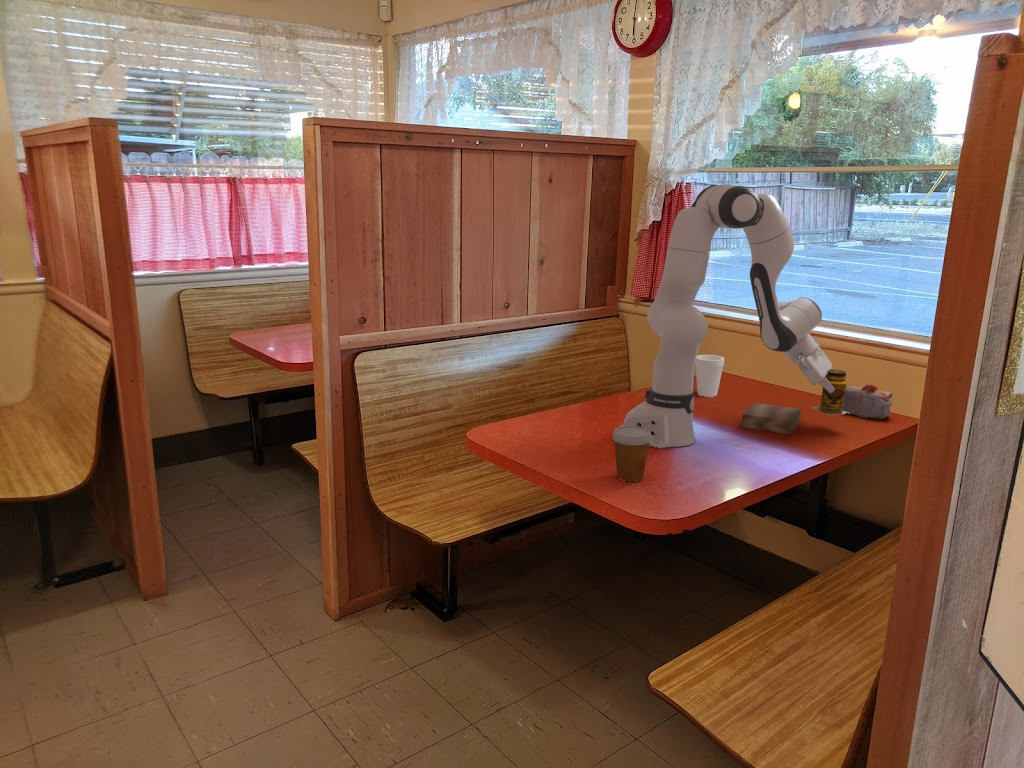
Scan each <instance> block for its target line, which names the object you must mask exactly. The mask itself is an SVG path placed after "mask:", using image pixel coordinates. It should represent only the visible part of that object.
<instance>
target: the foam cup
mask: <svg viewBox="0 0 1024 768" xmlns="http://www.w3.org/2000/svg"><path fill="white" fill-rule="evenodd" d="M724 366H725V358H724V357H723V356H721V355H716V354H697V357H696V361H695V374H696V375H695V376H696V389H697V395H698V396H699V397H703V396H704V397H703V398H714V396H715V397H717V396H716V395H718V392H719V387H720V382H721V377H722V372H723V368H724Z"/></svg>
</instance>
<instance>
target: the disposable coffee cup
mask: <svg viewBox="0 0 1024 768" xmlns="http://www.w3.org/2000/svg"><path fill="white" fill-rule="evenodd" d="M620 426H621V427H620ZM620 426H617V427H616V428H614V431H613V433H612V435H611V437H612V439H613V443H614V444H613V445H614V453H615V465H616V477H617V476H618V477H617V479H618V478H620V479H622V480H625V481H634V482H633V483H636V482H635V481H639V482H641V481H643V480H644V475H645V471H646V470H645V469H646V465H647V460H648V454H649V447H650V446H649V443H650V441H651V439H652V436H651V434H650V431H649V430H648V429H646V428H643V427H639V426H622V425H620ZM620 479H619V480H620ZM642 479H643V480H642ZM622 480H621V481H622ZM640 480H641V481H640ZM625 481H624V482H625Z"/></svg>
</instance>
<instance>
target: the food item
mask: <svg viewBox="0 0 1024 768" xmlns="http://www.w3.org/2000/svg"><path fill="white" fill-rule="evenodd" d="M878 388H879V387H877V386H875V385H873V384H866V385H865V386H855V385H849V387H846V389H845V397H844V405H843V411H845V412H848V414H847V415H851V414H853V415H852V416H858V417H860V418H862V417H865V418H866V419H867V418H868V417H870V419H874V418H876V419H875V420H880V419H881V420H883V418H884V419H886V418H888V417H890V415H891V406H892V405H893V402H892V401H893V397H894V393H893V392H889V391H882V390H878Z"/></svg>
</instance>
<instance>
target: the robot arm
mask: <svg viewBox="0 0 1024 768" xmlns="http://www.w3.org/2000/svg"><path fill="white" fill-rule="evenodd" d="M719 228H721V229H734V230H735V229H736V230H737V229H742V230H743V232H744V233H745V237H746V239H747V242H748V245H749V248H750V252H751V253H750V254H751V256H750V257H751V265H750V266H751V267H750V270H749V278H750V285H751V290H752V294H753V298H754V302H755V304H754V305H755V308H756V312H757V316H758V317H757V318H758V321H759V334H760V335H759V336H760V339H761V341H762V344H763V345H764V346H765V347H766V348H767V349H768V350H770V351H774V352H777V353H783V354H784V355H785V356H786V358H787V359H788V360H789V361H790V362H791V364H792V365H794V366H795V365H797V367H798V369H799V370H800V371H801V373H802V374H803V376H805V378H806V379H807V380H808V382H809V383H810V384H811V385H813V386H816V385H818V384H819V385H820V386H821V387H822V388H823V387H824V388H825V389H827V391H828V392H829V393H832V392H833V391H834V390H835V387H834V386H833V385H832V384H831V383H830V382H829V381H828V380H827V378H826V377H825V376H826V375H827V374H828V372H827V371H828V370H832V369H833V364H832V362H831V359H829V357H828V356H827V354H826V353H825V352H824V351H823V349H822V348H821V347H820V345H821V344H820V343H819V341H818V340H817V339H815V338H813V336H812V335H811V334H810V332H812V331H813V330H814V329H815V328H816V327H817V326H818V325H819V324H820V323H821V322H822V318H823V314H822V311H821V308H820V306H819V305H818V304H817V303H816V302H815V300H812V299H811V298H808V297H798V298H796V299H793V300H790V301H786V302H785V301H783V302H782V301H779V300H778V298H777V292H776V284H777V281H778V278H779V276H780V274H781V273H782V272H783V271H782V270H783V269H784V268H785V267H786V265H787V264H788V262H789V261H790V260H791V257H792V256H793V253H794V249H795V241H794V236H793V235H794V234H793V233H792V231H791V230H792V229H791V228H790V225H789V222H788V220H787V217H786V215H785V213H784V210H783V209H782V208H781V206H780V204H779V202H778V201H777V199H776V197H775V196H773V195H772V194H769V193H759V194H756V193H755V192H754V191H753V190H752V189H750V188H748V187H746V186H741V185H734V184H726V183H725V184H714V185H713V184H712V185H709V186H707V187H706V188H704V189H702V190H701V191H700V192H699V193H698V194H697V196H696V198H695V199H694V202H693V203H692V204H691V206H687V207H685V208H683V209H681V210H680V211H679V212H678V213H677V215H676V217H675V220H674V221H673V226H672V228H671V232H670V234H669V235H670V236H669V239H668V245H667V249H666V250H667V251H666V256H665V262H664V267H663V273H662V277H661V279H660V283H659V286H658V289H657V292H656V294H655V296H654V300H653V302H652V304H651V305H650V306H649V308H648V311H647V315H646V316H647V322H648V324H649V327H650V329H652V331H653V332H654V333H655V334H656V335H658V336H659V337H660V345H659V348H658V349H659V350H658V353H657V356H656V358H655V359H654V361H653V365H652V367H653V368H652V369H653V370H652V384H651V386H649V387H648V388H647V390H646V391H645V392H643V398H644V399H645V401H643V402H641V403H639V404H637V405H636V406H635V407H634V408H632V409H631V410H629V411H628V412H627V414H626V415H625V417H624V420H623V424H622V425H620V426H619V427H621V426H639V427H643V428H646V429H648V430H649V431H650V434H651V436H652V439H651V441H650V443H649V447H652V446H653V447H652V448H656V447H657V449H666V447H667V448H673V447H674V448H675V447H676V448H678V447H685V446H689V445H693V444H694V443H696V442H697V441H696V440H697V439H696V435H695V430H694V422H693V412H694V408H695V391H694V378H695V377H694V376H695V368H696V364H695V361H696V357H697V356H698V355H699V354H698V353H699V350H700V346H701V343H702V342H703V341H704V340H705V338H706V336H707V334H708V330H709V323H708V321H707V319H706V317H705V315H704V314H703V313H702V312H701V311H700V310H699V309H698V308H697V307H695V306H693V305H694V302H695V300H696V299H695V298H696V297H697V294H698V293H699V290H700V288H701V287H702V286H703V285H704V283H705V282H706V281H705V280H706V277H707V269H708V265H709V260H710V254H711V247H712V242H713V241H712V240H713V238H714V235H715V234H716V232H717V231H718V229H719Z"/></svg>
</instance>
